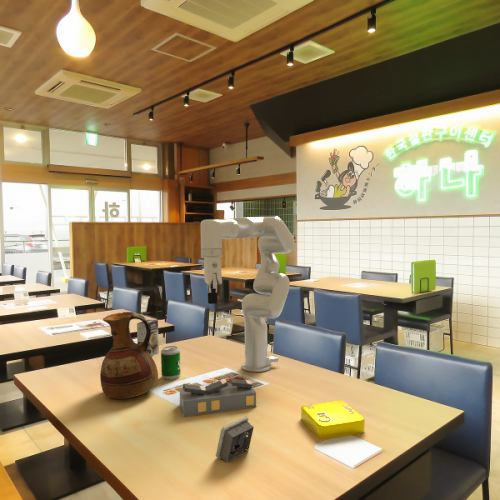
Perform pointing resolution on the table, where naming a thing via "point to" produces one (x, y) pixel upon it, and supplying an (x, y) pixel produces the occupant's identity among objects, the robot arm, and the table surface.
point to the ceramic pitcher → (127, 360)
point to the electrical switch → (234, 439)
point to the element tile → (332, 419)
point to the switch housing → (217, 400)
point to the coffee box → (153, 341)
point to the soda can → (170, 362)
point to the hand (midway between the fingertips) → (212, 303)
